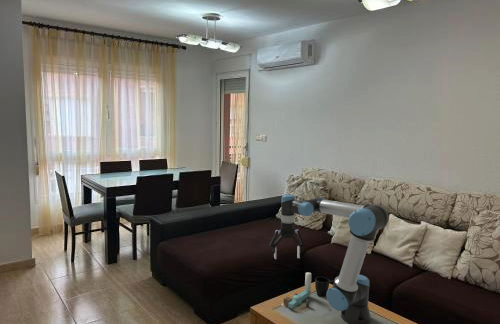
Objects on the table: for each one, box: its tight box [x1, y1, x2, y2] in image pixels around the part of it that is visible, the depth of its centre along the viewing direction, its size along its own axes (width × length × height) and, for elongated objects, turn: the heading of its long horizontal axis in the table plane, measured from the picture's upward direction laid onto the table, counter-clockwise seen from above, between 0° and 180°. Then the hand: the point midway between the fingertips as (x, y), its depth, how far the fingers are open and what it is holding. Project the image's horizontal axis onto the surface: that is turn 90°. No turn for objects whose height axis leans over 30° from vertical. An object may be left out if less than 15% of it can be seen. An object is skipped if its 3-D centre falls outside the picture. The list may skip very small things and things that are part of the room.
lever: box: [288, 272, 312, 310], centre depth 203 cm, size 5×21×13 cm, turn 143°
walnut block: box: [282, 296, 293, 309], centre depth 200 cm, size 4×4×4 cm
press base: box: [280, 292, 313, 314], centre depth 201 cm, size 14×11×5 cm
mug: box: [314, 276, 334, 298], centre depth 216 cm, size 8×12×10 cm
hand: (286, 257), depth 208 cm, fingers open, 13 cm apart
